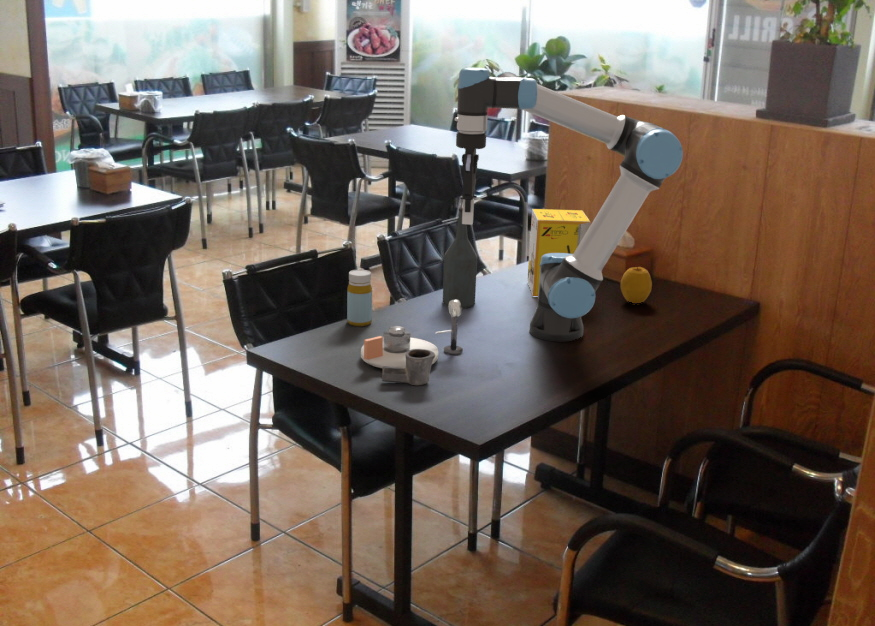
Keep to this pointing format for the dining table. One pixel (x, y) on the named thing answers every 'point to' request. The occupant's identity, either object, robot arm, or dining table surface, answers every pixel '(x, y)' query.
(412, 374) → the pipe
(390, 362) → the turntable
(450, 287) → the bottle
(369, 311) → the bottle
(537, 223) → the packaging box
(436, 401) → the dining table surface
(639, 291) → the apple
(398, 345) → the cover
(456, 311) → the silver headed stand
